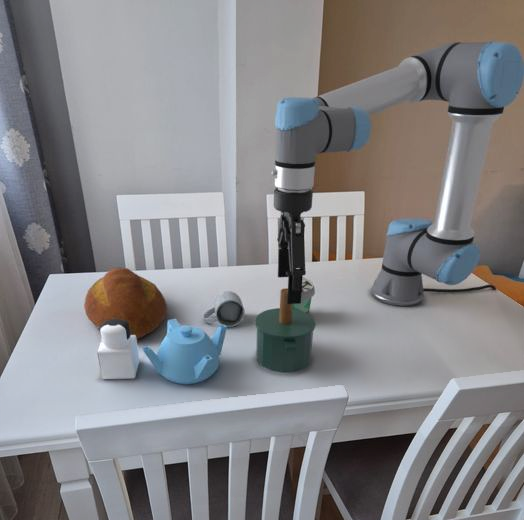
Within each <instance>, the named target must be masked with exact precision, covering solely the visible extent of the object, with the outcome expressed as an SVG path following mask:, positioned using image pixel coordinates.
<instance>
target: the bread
mask: <svg viewBox="0 0 524 520" xmlns="http://www.w3.org/2000/svg"><path fill="white" fill-rule="evenodd" d="M83 308H84V311H85V315H86V317H87V318H88V320H89V321H90V322H91V323H92V324H93V325H94V326H96V327H97V328H99V329H100V325H101V324H102V323H103V322H105V321H107V320H110V319H123V320H125V321H127V322H128V323H129V327H130V335H136V339H137V340H138V339H140V338H143V337H145V336H146V335H148V334H151V333H152V332H153V331H154V330H155V329H157V328H158V327H159V326H160V325H161V324H162V323H163V320H164V319H165V318H166V315H167V310H168V307H167V303H166V299H165V297H164V296H163V294H162V292H161V291H160V289H159V288H158V287H157V285H156V284H155V283H153V282H152V281H150V280H148V279H146V278H144V277H142V276H140V275H139V274H137V273H135V272H134V271H132V270H131V269H129V268H126V267H120V266H117V267H114V268H113V267H112V268H111V269H110V270H108V271H107V272H106V273H105V274H104V276H103V277H101V278H99V279H98V280H96V282H94V283H93V284H92V285H91V287H89V289H87V292H86V295H85V298H84V304H83Z"/></svg>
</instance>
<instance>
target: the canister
mask: <svg viewBox="0 0 524 520" xmlns="http://www.w3.org/2000/svg"><path fill="white" fill-rule="evenodd" d="M313 337H314V331H313V332H312V333H310V334H309V335H306V336H304V337H300V338H294V339H281V338H275V337H271V336H268V335H266V334H264V333H262V332H260V331H259V330H258V329H257V328H256V347H255V348H256V349H255V350H256V351H255V353H256V354H255V357H256V362H257V364H258V365H259V366H261V367H263V368H265V369H267V370H269V371H273V372H278V373H295V372H299V371H302V370H303V369H305V368H306V367H307V366H309V365H310V362H311V360H312V350H313V349H312V348H313V339H314V338H313Z"/></svg>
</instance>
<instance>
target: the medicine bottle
mask: <svg viewBox="0 0 524 520" xmlns="http://www.w3.org/2000/svg"><path fill="white" fill-rule="evenodd" d="M99 332H100V339H101V342H100V344H99V347H98V348H97V349H98V350H97V353H96V354H97V358H98V363H99V364H98V365H99V369H100V370H99V371H100V376H101V379H102V380H122V379H123V380H124V379H125V380H126V379H136V376H137V372H138V368H139V364H140V356H139V347H138V342H137V341H138V338H137V339H136V335H130V327H129V323H128V322H127V321H125V320H123V319H110V320H107V321H105V322H103V323H102V324H101V325H100V328H99Z"/></svg>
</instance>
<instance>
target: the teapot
mask: <svg viewBox="0 0 524 520" xmlns="http://www.w3.org/2000/svg"><path fill="white" fill-rule="evenodd" d="M166 325H167V328H166V335H165V337H164V338H163V339H162V341H161V343H160V345H159V347H158V349H157V353H156V352H154V351H153V349H152V348H151V346H150V345H146V346H143V347H141V349H142V351H143V353H144V354H145V356H146V357H147V358H148V360H149V361H150V363H151V364H152V366H153V367H154V368H155V370H156V371H157V373H158V374H160V375H161V376H162V377H164V378H165V379H167V380H168V381H169V382H172V383H174V384H178V385H194V384H197V383H202V382H204V381H205V380H207V379H209V378H210V377H212V375H213V374H214V373H215V372H216V371H217V370H218V368H219V366H220V356H221V354H222V350H223V346H224V341H225V338H226V333H227V329H228V327H227V326H225V325H221V324H220V325H217V326H218V327H217V329H216V330H215V332H214V334H213V335H212V337H210V336H209V335H208V334H207V333H206V332H205V331H204V329H202V328H200V327H198V326H191V325H182V326H181V324H180V323H179V321H178V320H177V318H172V319H168V320H167V324H166Z"/></svg>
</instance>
